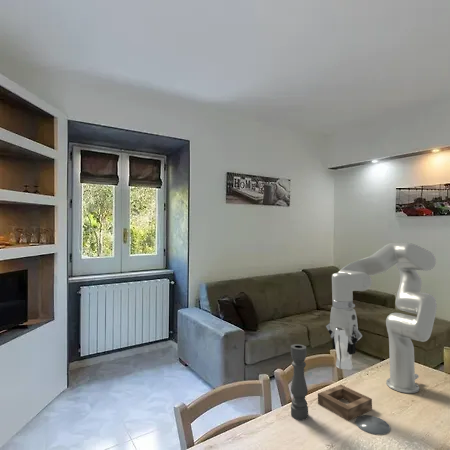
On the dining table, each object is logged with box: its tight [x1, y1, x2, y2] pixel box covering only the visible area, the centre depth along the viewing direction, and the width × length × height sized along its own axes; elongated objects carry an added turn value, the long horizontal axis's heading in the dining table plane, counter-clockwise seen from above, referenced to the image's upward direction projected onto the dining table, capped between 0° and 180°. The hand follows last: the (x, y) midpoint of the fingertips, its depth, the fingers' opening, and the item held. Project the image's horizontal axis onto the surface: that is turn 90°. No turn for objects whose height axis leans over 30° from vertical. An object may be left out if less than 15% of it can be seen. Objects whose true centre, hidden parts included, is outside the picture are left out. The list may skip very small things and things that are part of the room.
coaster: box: [354, 414, 391, 435], centre depth 111 cm, size 11×11×1 cm
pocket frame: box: [317, 384, 373, 422], centre depth 124 cm, size 14×14×4 cm
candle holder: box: [290, 343, 309, 421], centre depth 118 cm, size 6×6×25 cm
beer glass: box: [334, 328, 354, 371], centre depth 124 cm, size 7×7×15 cm
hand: (343, 350), depth 124 cm, fingers closed on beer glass, 6 cm apart
